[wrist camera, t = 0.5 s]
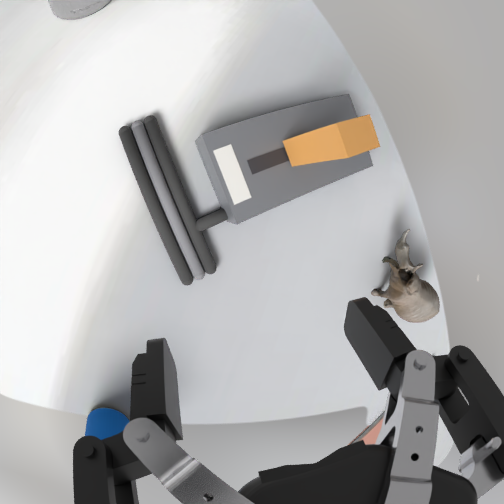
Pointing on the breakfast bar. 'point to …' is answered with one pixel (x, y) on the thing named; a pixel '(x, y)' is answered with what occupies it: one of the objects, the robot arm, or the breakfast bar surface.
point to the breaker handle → (333, 142)
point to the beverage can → (105, 423)
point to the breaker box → (273, 158)
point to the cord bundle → (169, 201)
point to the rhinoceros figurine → (408, 288)
